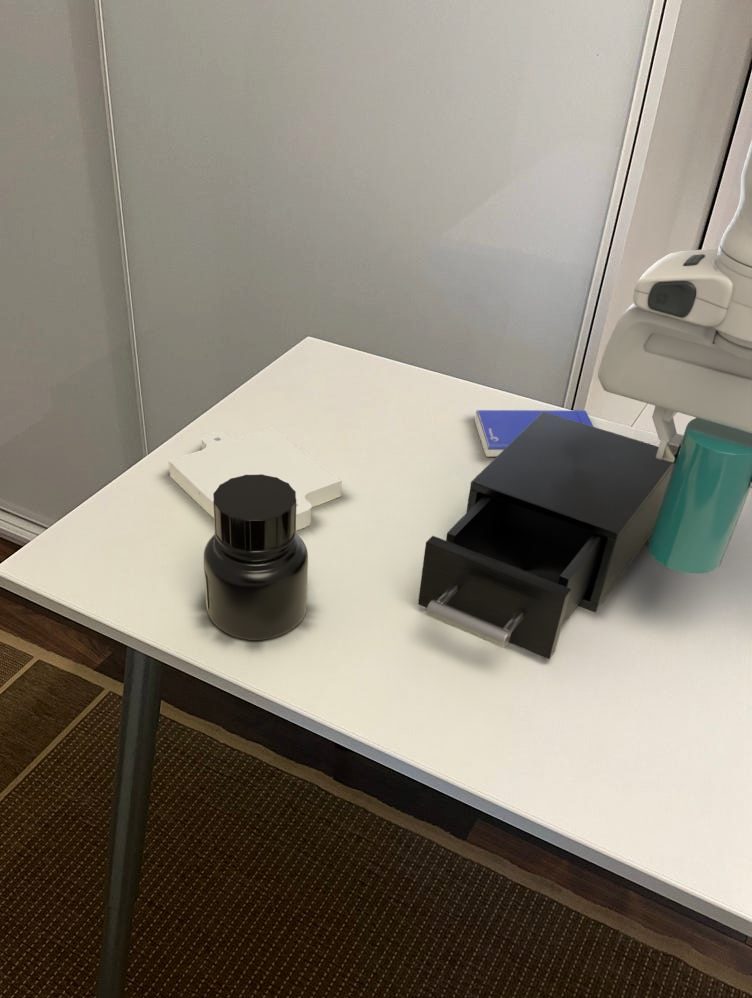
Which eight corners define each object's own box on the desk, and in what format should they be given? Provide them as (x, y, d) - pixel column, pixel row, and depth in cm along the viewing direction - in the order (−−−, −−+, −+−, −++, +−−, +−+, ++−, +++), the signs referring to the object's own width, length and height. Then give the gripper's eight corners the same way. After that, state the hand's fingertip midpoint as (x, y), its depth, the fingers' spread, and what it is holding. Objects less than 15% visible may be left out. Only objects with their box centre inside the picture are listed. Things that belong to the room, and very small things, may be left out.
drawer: (527, 689, 78) (543, 625, 73) (393, 630, 83) (400, 567, 79) (613, 572, 89) (631, 510, 85) (490, 526, 95) (501, 466, 90)
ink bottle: (265, 565, 92) (264, 454, 84) (330, 610, 87) (335, 496, 79) (183, 609, 87) (173, 496, 79) (247, 659, 82) (243, 544, 74)
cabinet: (595, 612, 86) (618, 533, 81) (458, 558, 92) (470, 481, 87) (655, 528, 96) (679, 452, 90) (527, 484, 102) (542, 411, 96)
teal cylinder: (730, 547, 80) (777, 429, 73) (709, 583, 77) (756, 462, 70) (661, 523, 83) (700, 407, 76) (637, 557, 79) (675, 438, 72)
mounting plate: (159, 465, 105) (157, 450, 103) (260, 432, 110) (260, 417, 109) (246, 549, 93) (246, 533, 92) (355, 508, 99) (356, 492, 97)
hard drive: (488, 445, 105) (603, 445, 105) (476, 408, 111) (585, 408, 111) (486, 458, 106) (600, 458, 106) (474, 420, 112) (582, 420, 112)
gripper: (954, 318, 63) (866, 497, 72) (645, 250, 72) (602, 417, 81) (938, 353, 59) (847, 538, 68) (614, 277, 68) (572, 449, 77)
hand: (712, 472), depth 75 cm, fingers closed on teal cylinder, 6 cm apart
